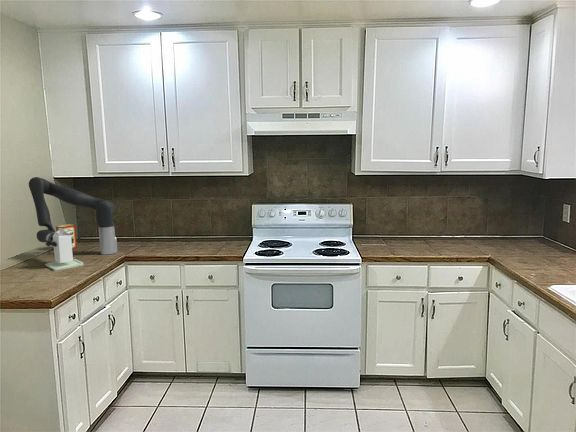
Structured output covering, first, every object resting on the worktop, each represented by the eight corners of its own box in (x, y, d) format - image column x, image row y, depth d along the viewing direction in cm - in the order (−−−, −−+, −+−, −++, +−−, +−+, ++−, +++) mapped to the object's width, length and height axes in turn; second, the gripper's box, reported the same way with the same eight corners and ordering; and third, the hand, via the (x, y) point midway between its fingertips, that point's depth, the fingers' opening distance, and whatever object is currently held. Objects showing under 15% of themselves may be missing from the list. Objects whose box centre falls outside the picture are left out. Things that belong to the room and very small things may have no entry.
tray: (74, 260, 265) (74, 258, 265) (84, 265, 254) (84, 263, 254) (45, 265, 254) (45, 263, 254) (54, 270, 243) (53, 268, 243)
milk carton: (67, 259, 259) (64, 226, 256) (73, 261, 254) (70, 228, 251) (54, 261, 253) (52, 228, 250) (60, 263, 249) (57, 230, 246)
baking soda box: (64, 250, 293) (61, 226, 291) (57, 249, 296) (55, 225, 294) (76, 247, 301) (75, 224, 299) (70, 246, 304) (68, 223, 302)
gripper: (40, 234, 257) (49, 238, 245) (67, 231, 267) (76, 235, 255) (41, 247, 258) (50, 252, 246) (68, 243, 268) (77, 248, 256)
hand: (63, 243), depth 251 cm, fingers closed on milk carton, 8 cm apart
